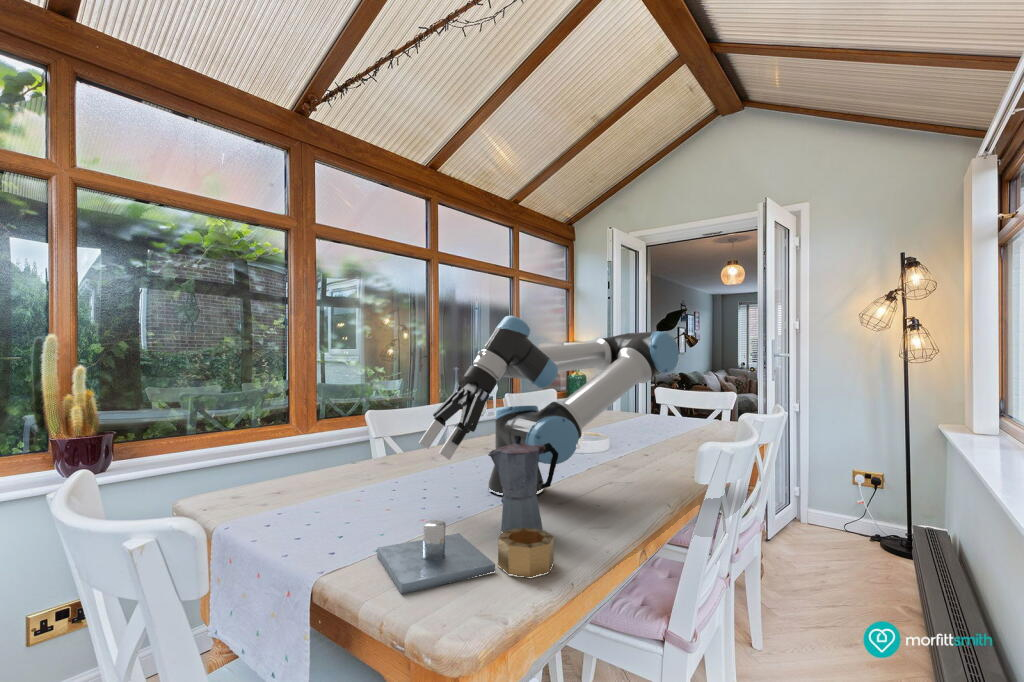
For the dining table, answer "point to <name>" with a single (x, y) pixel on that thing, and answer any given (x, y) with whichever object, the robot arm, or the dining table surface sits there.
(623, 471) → the dining table surface
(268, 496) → the dining table surface
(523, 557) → the ring
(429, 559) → the peg base plate
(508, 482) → the moka pot
